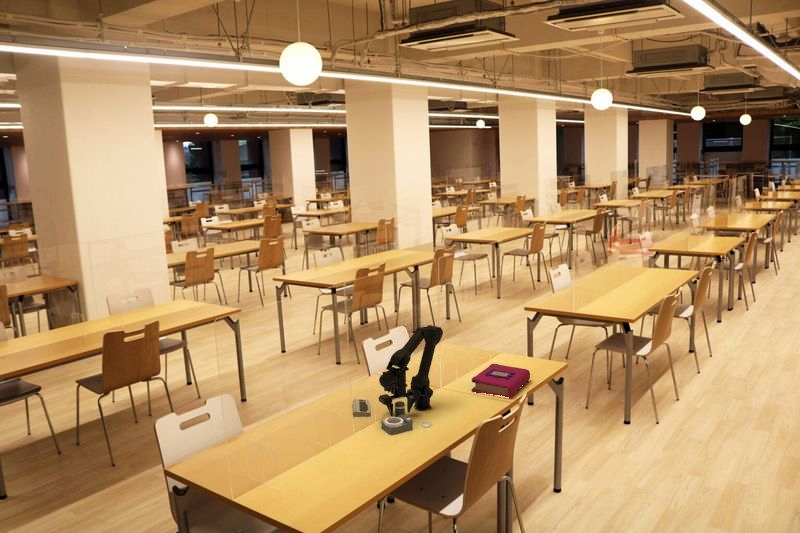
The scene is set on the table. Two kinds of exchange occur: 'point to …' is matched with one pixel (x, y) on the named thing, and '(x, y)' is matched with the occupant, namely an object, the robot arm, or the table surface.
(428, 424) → the pale white disc
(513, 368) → the book
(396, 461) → the table surface
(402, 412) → the lens
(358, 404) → the computer
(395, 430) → the camera body
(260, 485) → the table surface
